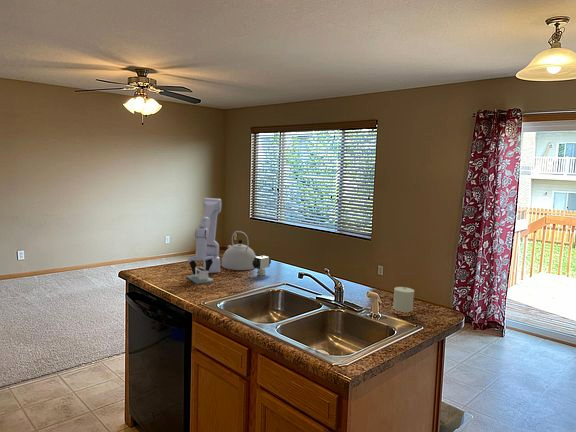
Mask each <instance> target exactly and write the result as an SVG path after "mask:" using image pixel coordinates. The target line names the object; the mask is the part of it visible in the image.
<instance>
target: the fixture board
mask: <svg viewBox="0 0 576 432" xmlns="http://www.w3.org/2000/svg"><path fill="white" fill-rule="evenodd" d="M186 278H187V279H189V280H190V281H192V282H193V283H195V284H196V285H199V284H207V283H214V282H215V281H214V279H213V278H211V277H210V276H208V280H200V281H199V280H198V279H196V278H195V277H193V274H191V275H187V276H186Z"/></svg>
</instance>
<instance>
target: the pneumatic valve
mask: <svg viewBox="0 0 576 432" xmlns="http://www.w3.org/2000/svg"><path fill="white" fill-rule="evenodd" d="M271 263H272V260H271V257H270V256H267V255H258V256H256V257H254V260H253V263H252V264H253V266H254V269H257V271H256V274H257V276H260V277H263V276H266V268H270V266H271V265H270V264H271ZM262 275H263V276H262Z"/></svg>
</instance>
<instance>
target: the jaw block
mask: <svg viewBox="0 0 576 432" xmlns="http://www.w3.org/2000/svg"><path fill="white" fill-rule="evenodd" d="M192 275H193V274H192ZM193 277H195V278H196V279H198V280H199V281H200V280H208V277H209V273H208V270H206V269H205V268H204V266H196V268H195V275H193Z"/></svg>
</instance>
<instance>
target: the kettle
mask: <svg viewBox="0 0 576 432" xmlns="http://www.w3.org/2000/svg"><path fill="white" fill-rule="evenodd" d="M236 233H241V234H243V235H244V236H245V238H246V240H247V243H246V244H242V243H243V240H242V239H238V241H237V244H235V243H234V235H235V234H236ZM231 244H232V245H231ZM231 244H229V245H227V249H226V250H225V252H224V253H223V255H222V258H221V264H220V267H223V268H224V269H227V270H234V271H248V270H249V271H250V270H254V269H255V268H254V266H253V264H252V263H253V260H254V257H257V256H256V253H255V251H254V250H253V249H252V248H251V247H249V245H250V240H249V237H248V235H247V233H245V232H243V231H241V230H235V231H234V232H233V233H232V235H231Z"/></svg>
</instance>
